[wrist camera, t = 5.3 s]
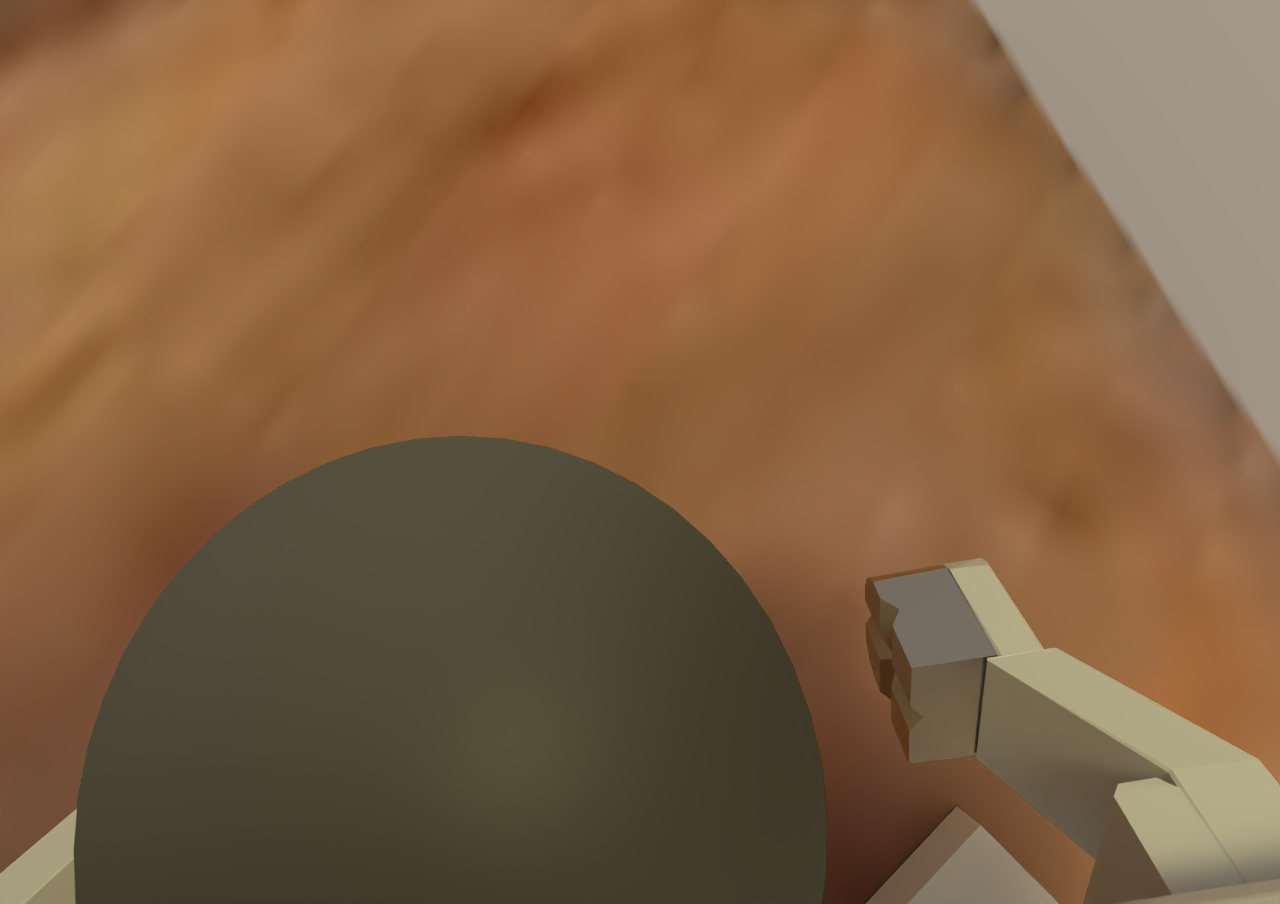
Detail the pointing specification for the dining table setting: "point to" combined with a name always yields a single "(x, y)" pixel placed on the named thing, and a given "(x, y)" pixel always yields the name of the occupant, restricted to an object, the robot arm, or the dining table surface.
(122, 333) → the dining table surface
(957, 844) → the holder
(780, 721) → the peg
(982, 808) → the dining table surface
